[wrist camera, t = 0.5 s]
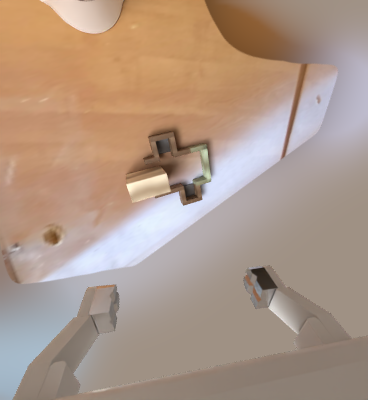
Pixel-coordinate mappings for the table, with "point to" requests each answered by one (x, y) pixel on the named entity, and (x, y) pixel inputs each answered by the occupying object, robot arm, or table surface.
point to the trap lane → (161, 145)
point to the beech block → (147, 183)
